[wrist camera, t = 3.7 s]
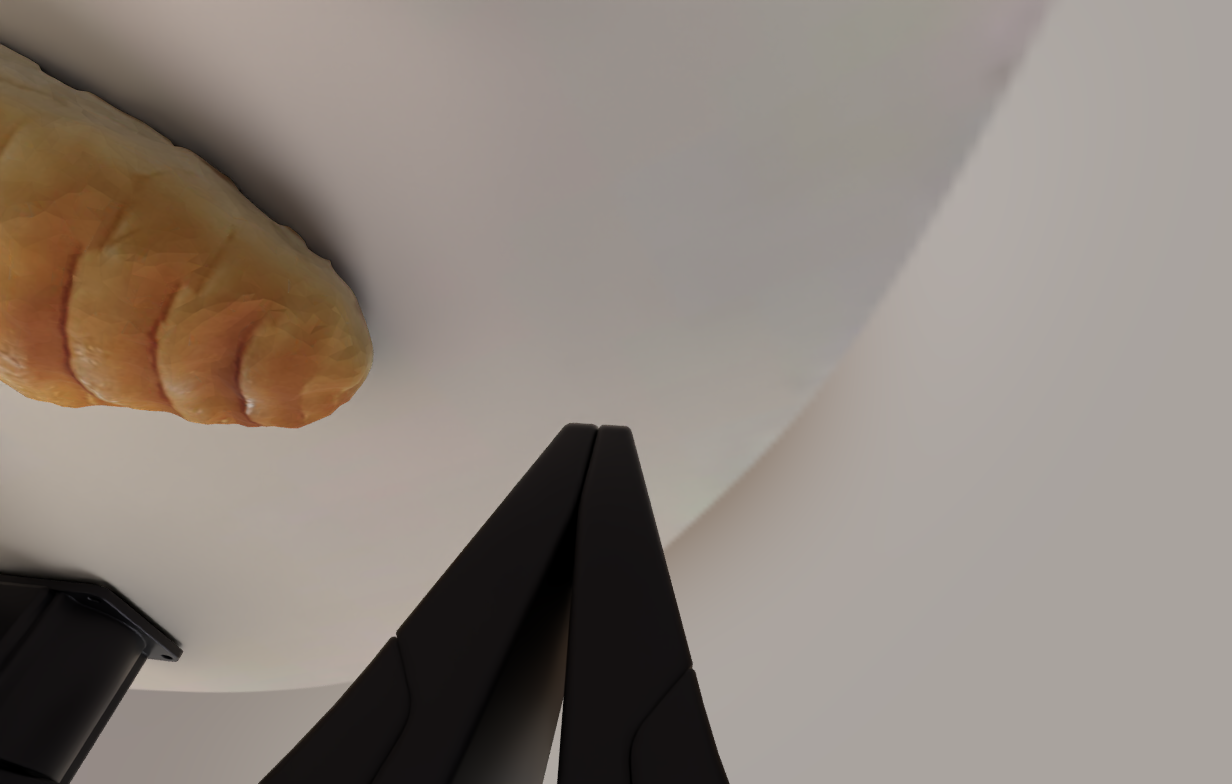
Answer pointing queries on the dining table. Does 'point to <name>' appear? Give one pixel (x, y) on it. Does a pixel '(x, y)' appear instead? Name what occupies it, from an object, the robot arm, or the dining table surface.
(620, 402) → the dining table surface
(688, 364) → the dining table surface
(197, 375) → the pastry
